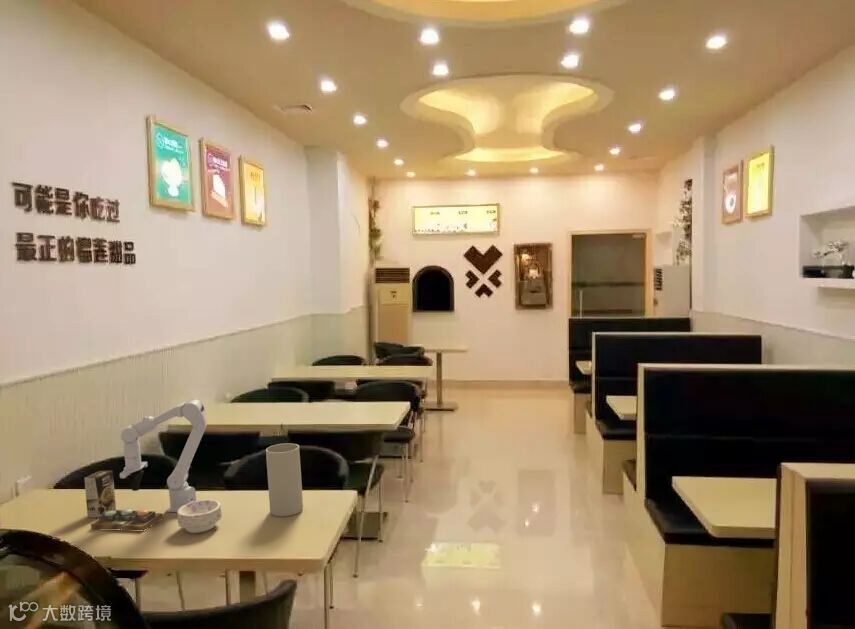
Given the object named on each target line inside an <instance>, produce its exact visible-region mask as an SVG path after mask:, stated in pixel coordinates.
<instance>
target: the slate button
mask: <svg viewBox="0 0 855 629" xmlns="http://www.w3.org/2000/svg"><path fill="white" fill-rule="evenodd" d="M133 511H134V510H133V509H132V508H124V509H122V511H121V516H130V515H131V514H133Z"/></svg>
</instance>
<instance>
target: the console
mask: <svg viewBox="0 0 855 629" xmlns="http://www.w3.org/2000/svg"><path fill="white" fill-rule="evenodd" d="M122 510H123V509H122ZM122 510H121V509H119V510H118V509H115V510H108V511H116V514H114V515H112V516H105V513H106V512H108V511H106V512H104V513H102V514H101V515H99V516H98V518H97V519H98V520H95V521H94V522H92V523H90V530H95V529H120V530H121V529H122V530H143V531H142V532H145V531H146V530H145V529H147V528H148V529H150V528H151V527H152V526H151V525H153V524H154V525H155V523H156V522H157V523H159V522H160V521H161V519H162V518H163V519H164V514H163V513H157V512H156V510H149V515H147V516H146V517H138V514H137V512H138V511H139V510H132V511H133V514H131V515H130V516H121V511H122ZM163 519H162V520H163ZM159 520H160V521H159ZM158 521H159V522H158ZM157 523H156V524H157ZM154 525H153V526H154ZM150 526H151V527H150ZM149 527H150V528H149ZM148 529H147V530H148ZM144 530H145V531H144Z"/></svg>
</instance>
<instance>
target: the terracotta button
mask: <svg viewBox="0 0 855 629" xmlns="http://www.w3.org/2000/svg"><path fill="white" fill-rule="evenodd" d="M137 511H138V512H137V514H138V517H146V516H147V515H149V511H150V509H149V508H144V509H139V510H137Z"/></svg>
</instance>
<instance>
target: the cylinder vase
mask: <svg viewBox="0 0 855 629" xmlns="http://www.w3.org/2000/svg"><path fill="white" fill-rule="evenodd" d="M265 456H266V470H267V473H266V474H267V484H268V485H267V486H268V500H269V512H270V514H271V515H272V516H274V517H279V518H280V517H281V518H282V517H283V518H285V517H291V516H295V515H297V514H300V513H301V512H302V511H303V509H304V503H303V500H304V499H303V486H302V470H301V455H300V445H299V444H297V443H288V442H287V443H277V444H273V445H270V446H269V447H267V448H266V449H265Z"/></svg>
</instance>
